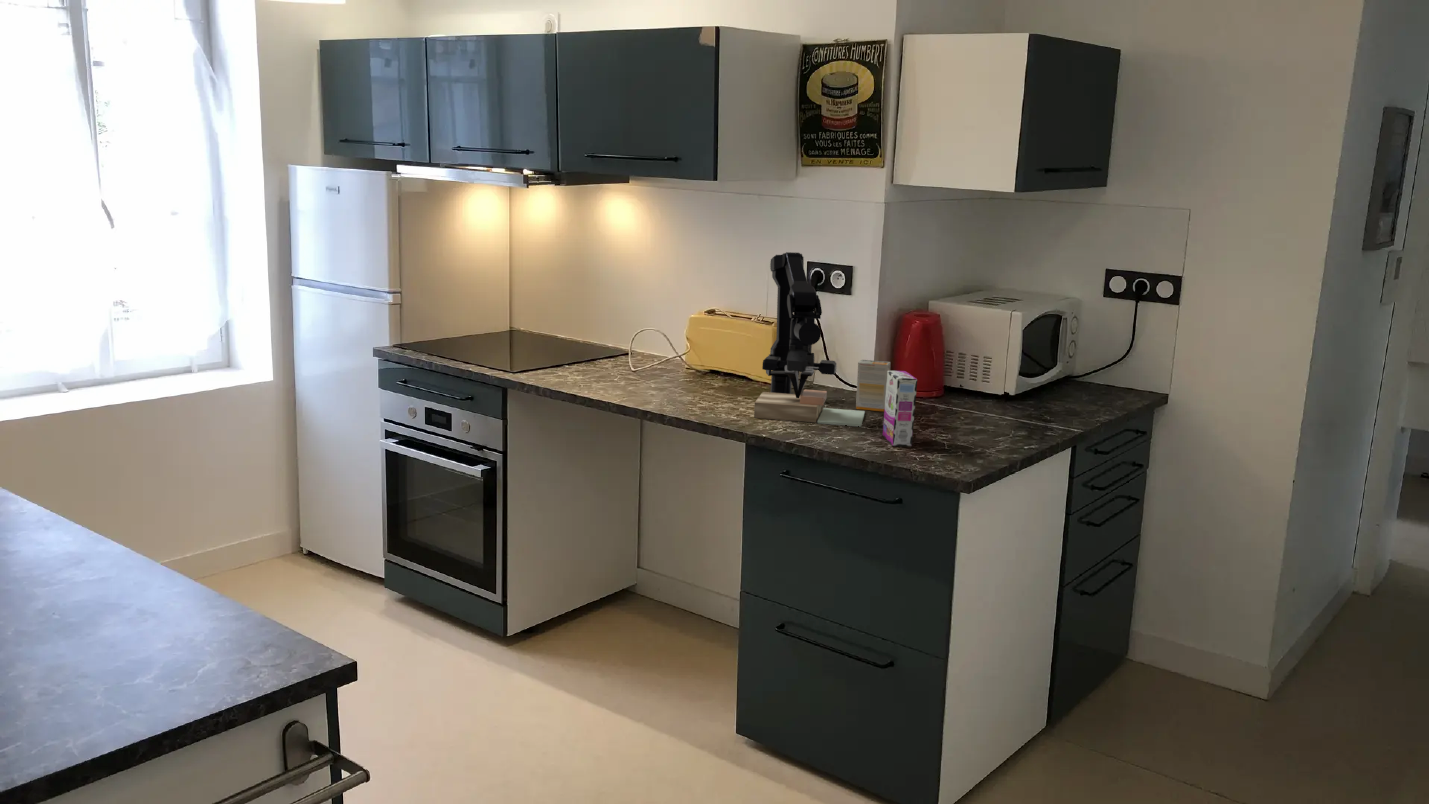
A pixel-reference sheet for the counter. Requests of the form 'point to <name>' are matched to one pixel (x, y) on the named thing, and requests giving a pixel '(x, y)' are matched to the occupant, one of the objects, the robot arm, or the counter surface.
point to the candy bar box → (899, 408)
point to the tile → (813, 397)
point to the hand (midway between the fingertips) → (797, 397)
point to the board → (785, 408)
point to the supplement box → (871, 385)
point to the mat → (841, 417)
